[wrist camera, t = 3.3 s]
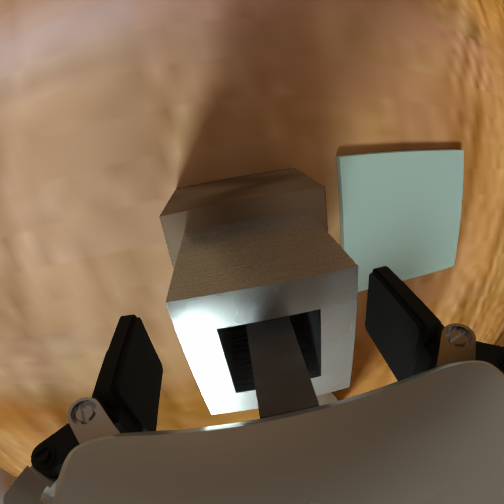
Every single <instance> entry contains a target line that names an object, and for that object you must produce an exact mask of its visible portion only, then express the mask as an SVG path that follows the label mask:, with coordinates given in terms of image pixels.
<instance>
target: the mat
mask: <svg viewBox="0 0 504 504" xmlns="http://www.w3.org/2000/svg"><path fill="white" fill-rule="evenodd" d="M336 161H337V173H338V187H339V203H340V224H341V247H342V248H343V249H344V251H345V252H346V253H347V254H348V255H349V256H350V257H351V258H352V260H353V261H354V262H355V263H356V264H357V265H358V292H361V291H365V290H368V283H369V274H370V273H372V271H373V269H374V268H378V267H383V266H387V267H389V268H390V269H391V270H392V271H393V272H394V273H395V274H396V275H397V276H398V277H399V278H400V279H401V280H402V281H404V280H408V279H411V278H415V277H419V276H422V275H426V274H429V273H433V272H436V271H440V270H443V269H446V268H450V267H453V266H454V263H455V256H456V250H457V243H458V236H459V227H460V218H461V207H462V193H463V167H464V150H461V149H435V150H408V151H390V152H375V153H362V154H351V155H340V156H336Z"/></svg>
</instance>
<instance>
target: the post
mask: <svg viewBox="0 0 504 504" xmlns="http://www.w3.org/2000/svg"><path fill="white" fill-rule="evenodd" d="M304 210H308V212H309V213H310V214H311V215H312V216H313V217H314V218H315V219H316V220H317V221H318V222H319V223H320V224H321V225H322V226H323V227H324V229H325V230H326V231H327V232H328V225H327V209H326V195H325V187H324V186H322V185H321V184H319V183H317V182H316V181H314V180H313V179H311V178H310V177H308V176H307V175H305V174H304V173H302V172H300V171H299V170H297V169H296V168H292V169H285V170H278V171H272V172H265V173H259V174H253V175H247V176H241V177H235V178H230V179H224V180H219V181H213V182H208V183H203V184H198V185H193V186H188V187H183V188H179V189H176V190H175V192H174V193H173V195H172V196H171V198H170V200H169V201H168V203H167V205H166V206H165V208H164V210H163V212H162V213H161V215H160V220H161V224H162V228H163V232H164V236H165V239H166V243H167V246H168V250H169V254H170V257H171V260H172V264H173V267H174V268H175V264H176V260H177V256H178V253H179V249H180V245H181V242H182V238H183V235H184V232H187V231H192V230H197V229H202V228H208V227H213V226H218V225H224V224H229V223H235V222H240V221H246V220H251V219H257V218H263V217H268V216H274V215H280V214H286V213H292V212H298V211H304ZM246 330H247V336H248V343H249V350H250V356H251V363H252V370H253V376H254V383H255V389H256V395H257V402H258V408H259V414H260V419H262V418H268V417H273V416H278V415H283V414H287V413H292V412H296V411H301V410H305V409H309V408H313V407H317V406H319V402H318V399H317V397H316V394H315V391H314V388H313V385H312V382H311V379H310V376H309V373H308V370H307V367H306V364H305V361H304V358H303V355H302V353H301V350H300V347H299V344H298V341H297V338H296V335H295V332H294V329H293V327H292V324H291V321H290V318H289V316H285V317H280V318H275V319H270V320H265V321H259V322H254V323H248V324H246Z"/></svg>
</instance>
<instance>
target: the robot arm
mask: <svg viewBox="0 0 504 504" xmlns="http://www.w3.org/2000/svg"><path fill="white" fill-rule="evenodd" d="M365 327H366V330H367V332H368V334H369V335H370V337H371V338H372V340H373V342H374V343H375V345H376V346H377V348H378V349H379V351H380V353H381V354H382V356H383V358H384V359H385V361H386V362H387V364H388V366H389V367H390V369H391V371H392V372H393V374H394V375H395V377H396V379H397V380H398V382H395V383H392V384H389V385H386V386H384V387H381V388H378V389H375V390H372V391H369V392H366V393H363V394H359V395H356V396H353V397H350V398H346V399H343V400H339V401H336V402H332V403H328V404H325V405H321V406H317V407H313V408H309V409H305V410H301V411H296V412H292V413H287V414H283V415H278V416H273V417H268V418H262V419H257V420H251V421H245V422H238V423H232V424H224V425H217V426H208V427H199V428H188V429H177V430H164V431H156V425H157V415H158V406H159V398H160V389H161V381H162V374H163V368H162V364H161V362H160V360H159V357H158V355H157V353H156V351H155V349H154V347H153V345H152V343H151V340H150V338H149V336H148V334H147V332H146V329H145V327H144V325H143V323H142V320H141V319H140V318H139V317H138V318H137V317H136V316H135V315H127V316H121V317H120V319H119V322H118V325H117V327H116V330H115V333H114V335H113V338H112V341H111V344H110V347H109V349H108V351H107V353H106V355H105V358H104V361H103V364H102V367H101V370H100V373H99V376H98V379H97V382H96V385H95V389H94V392H93V395H92V397H84V398H80V399H78V400H76V401H75V402H74V403H73V404H72V405H71V406H70V408H69V410H68V412H67V419H68V422H69V423H68V424H67V425H65V426H64V427H63V428H61V429H60V430H58V431H57V432H56V433H54V434H53V435H51V436H50V437H49V438H47V439H46V440H44V441H43V442H41V443H40V444H39V445H38V446H36V447H35V449H34V450H33V452H32V456H31V462H32V466H31V467H29V466H27V467H26V468H25V469H24V470H23V471H22V473H21V474H20V475H19V476H18V478H17V479H16V480H15V481H14V483H13V484H12V485H11V487H10V488H9V489H8V490H7V492H6V493H5V495H4V499H3V503H4V504H504V347H500V346H496V345H491V344H487V343H482V342H478V341H476V337H475V334H474V332H473V331H472V330H471V329H470V328H469V327H467V326H465V325H463V324H458V323H454V324H449V325H447V326H446V327H444V326H443V325H442V324H441V322H440V320H439V319H438V318H437V317H436V316H435V315H434V314H433V313H432V312H431V311H430V310H429V308H428V307H427V306H426V305H425V304H424V303H423V302H422V301H421V300H420V299H419V298H418V297H417V296H416V295H415V294H414V293H413V292H412V291H411V290H410V289H409V288H408V287H407V285H406V284H405V283H404V282H403V281H402V280H401V279H400V278H399V277H398V276H397V275H396V274H395V273H394V272H393V271H392V270H391V269H390V268H389V267H387V266H383V267H378V268H374V269H373V271H372V273H370V274H369V283H368V298H367V310H366V321H365Z"/></svg>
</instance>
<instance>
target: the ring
mask: <svg viewBox="0 0 504 504" xmlns="http://www.w3.org/2000/svg"><path fill="white" fill-rule="evenodd" d="M357 294H358V265H357V264H356V263H355V262H354V261H353V260H352V258H351V257H350V256H349V255H348V254H347V253H346V252H345V251H344V249H343V248H342V247H341V246H340V245H339V244H338V243H337V242H336V241H335V239H334V238H333V237H332V236H331V235H330V234H329V233H328V232H327V231H326V230H325V229H324V227H323V226H322V225H321V224H320V223H319V222H318V221H317V220H316V219H315V218H314V217H313V216H312V215H311V214H310V213H309V212H308V210H304V211H298V212H292V213H286V214H280V215H274V216H268V217H263V218H257V219H251V220H246V221H240V222H235V223H229V224H224V225H218V226H213V227H208V228H202V229H197V230H192V231H187V232H184V235H183V238H182V242H181V245H180V249H179V253H178V256H177V260H176V264H175V268H174V271H173V275H172V279H171V283H170V287H169V291H168V295H167V299H166V305H167V307H168V310H169V313H170V316H171V318H172V321H173V324H174V327H175V329H176V332H177V334H178V337H179V340H180V342H181V345H182V347H183V350H184V352H185V355H186V357H187V360H188V362H189V365H190V367H191V369H192V372H193V374H194V376H195V379H196V381H197V383H198V386H199V388H200V390H201V393H202V395H203V397H204V399H205V401H206V404H207V406H208V408H209V410H210V412H211V414H212V415H213V414H221V413H229V412H236V411H243V410H249V409H256V408H258V402H257V395H256V389H255V383H254V376H253V370H252V363H251V356H250V350H249V343H248V336H247V330H246V324H248V323H254V322H259V321H265V320H270V319H275V318H280V317H285V316H289V318H290V321H291V324H292V327H293V329H294V332H295V335H296V338H297V341H298V344H299V347H300V350H301V353H302V355H303V358H304V361H305V364H306V367H307V370H308V373H309V376H310V379H311V382H312V385H313V388H314V391H315V394H316V396H318V395H322V394H326V393H330V392H334V391H337V390H341V389H345V388H348V387H350V380H351V371H352V362H353V352H354V341H355V328H356V313H357Z"/></svg>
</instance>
